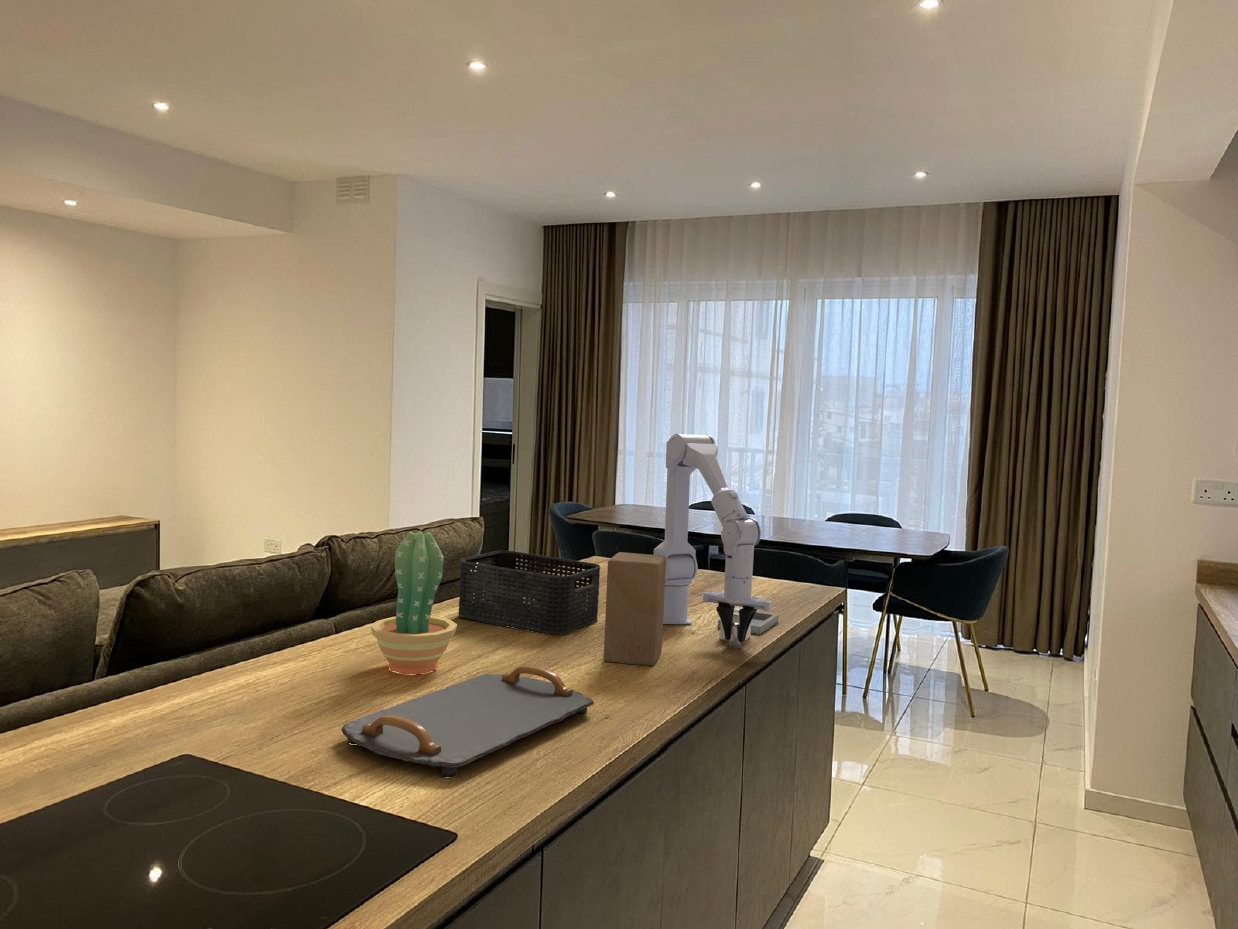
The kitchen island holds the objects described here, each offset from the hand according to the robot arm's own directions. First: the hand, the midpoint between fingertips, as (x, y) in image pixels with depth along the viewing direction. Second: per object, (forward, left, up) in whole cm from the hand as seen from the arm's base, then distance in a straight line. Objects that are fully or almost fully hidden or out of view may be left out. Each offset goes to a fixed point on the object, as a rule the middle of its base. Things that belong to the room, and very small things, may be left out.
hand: (735, 640), depth 191 cm
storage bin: (-42, +23, -2) cm, 48 cm away
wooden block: (-23, -8, -2) cm, 24 cm away
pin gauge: (0, 0, -1) cm, 1 cm away
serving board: (-54, -45, -2) cm, 70 cm away
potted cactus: (-65, -15, -2) cm, 67 cm away
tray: (+9, +18, -1) cm, 20 cm away
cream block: (+2, +7, -2) cm, 7 cm away
